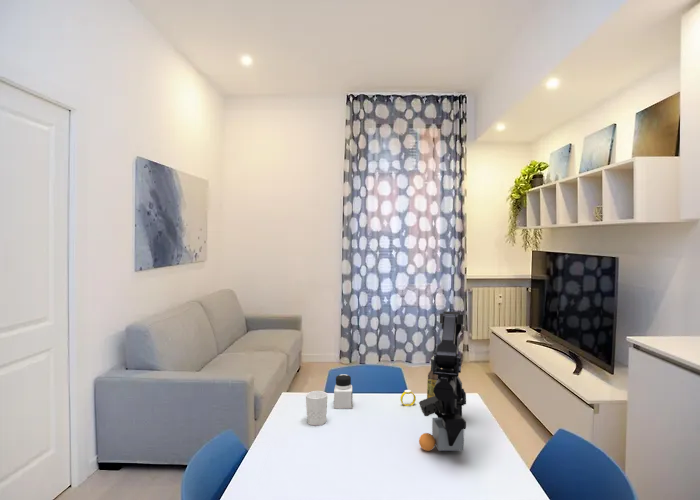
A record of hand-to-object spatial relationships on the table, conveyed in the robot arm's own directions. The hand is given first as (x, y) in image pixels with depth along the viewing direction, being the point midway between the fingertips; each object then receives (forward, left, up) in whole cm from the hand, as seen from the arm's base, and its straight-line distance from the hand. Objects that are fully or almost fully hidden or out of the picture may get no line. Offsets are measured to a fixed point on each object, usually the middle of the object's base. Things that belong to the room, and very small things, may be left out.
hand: (447, 439), depth 128 cm
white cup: (+42, -22, -3) cm, 47 cm away
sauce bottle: (-4, -32, -3) cm, 33 cm away
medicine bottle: (+32, -37, -3) cm, 49 cm away
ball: (+6, 0, -1) cm, 6 cm away
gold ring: (+6, -36, -3) cm, 37 cm away
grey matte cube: (0, 0, -2) cm, 2 cm away
